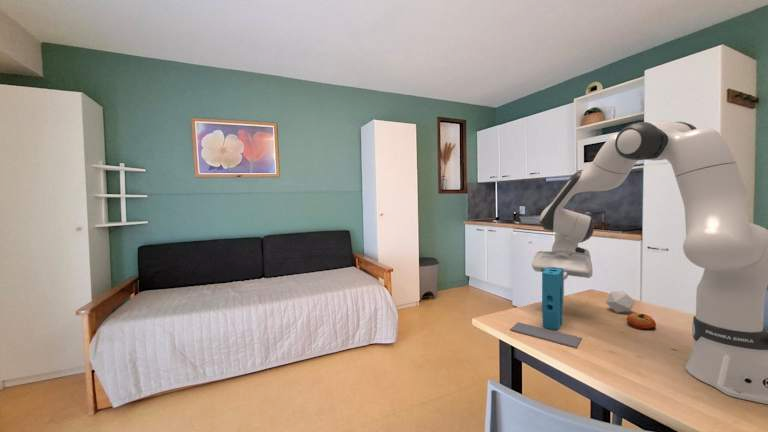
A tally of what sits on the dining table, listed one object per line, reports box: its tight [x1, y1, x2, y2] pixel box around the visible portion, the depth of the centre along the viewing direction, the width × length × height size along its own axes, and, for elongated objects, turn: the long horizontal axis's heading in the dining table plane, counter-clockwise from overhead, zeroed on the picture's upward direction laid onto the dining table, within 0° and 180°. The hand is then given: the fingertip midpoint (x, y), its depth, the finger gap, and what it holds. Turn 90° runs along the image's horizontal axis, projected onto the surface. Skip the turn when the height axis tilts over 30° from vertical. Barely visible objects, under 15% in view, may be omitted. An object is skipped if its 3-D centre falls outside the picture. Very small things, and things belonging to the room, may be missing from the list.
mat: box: [509, 321, 583, 349], centre depth 102 cm, size 20×8×1 cm, turn 48°
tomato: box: [626, 312, 657, 330], centre depth 107 cm, size 8×7×7 cm
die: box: [605, 290, 636, 314], centre depth 122 cm, size 8×9×10 cm
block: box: [541, 267, 564, 331], centre depth 110 cm, size 12×5×20 cm, turn 141°
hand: (557, 282), depth 114 cm, fingers closed
